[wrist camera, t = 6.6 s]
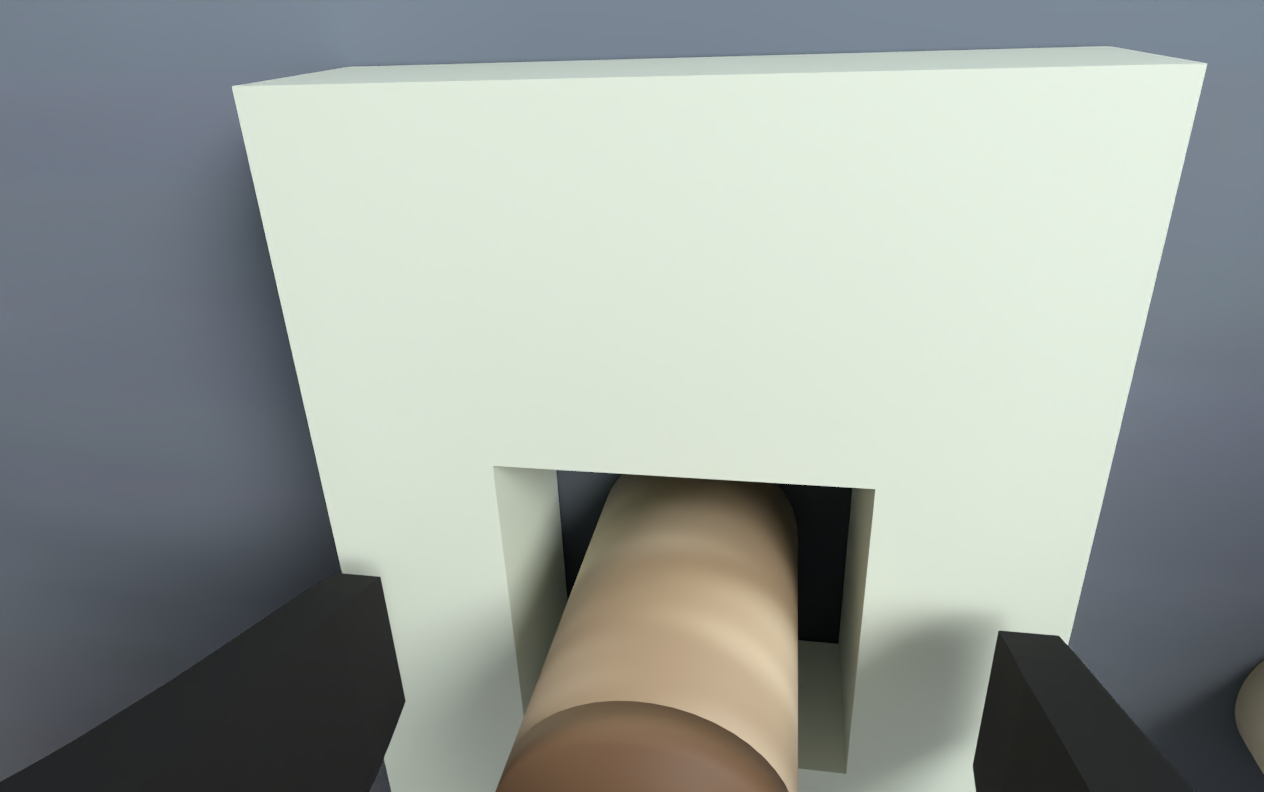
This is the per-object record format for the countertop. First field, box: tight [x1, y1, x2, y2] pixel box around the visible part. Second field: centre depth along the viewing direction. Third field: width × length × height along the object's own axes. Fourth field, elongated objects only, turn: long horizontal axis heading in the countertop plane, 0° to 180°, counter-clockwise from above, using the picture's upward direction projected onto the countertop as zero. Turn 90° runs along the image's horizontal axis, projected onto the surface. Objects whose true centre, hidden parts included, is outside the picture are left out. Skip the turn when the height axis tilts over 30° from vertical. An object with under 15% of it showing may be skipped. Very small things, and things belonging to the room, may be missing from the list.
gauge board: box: [232, 46, 1207, 792], centre depth 12 cm, size 9×13×2 cm
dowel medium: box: [495, 474, 798, 792], centre depth 10 cm, size 3×3×6 cm
